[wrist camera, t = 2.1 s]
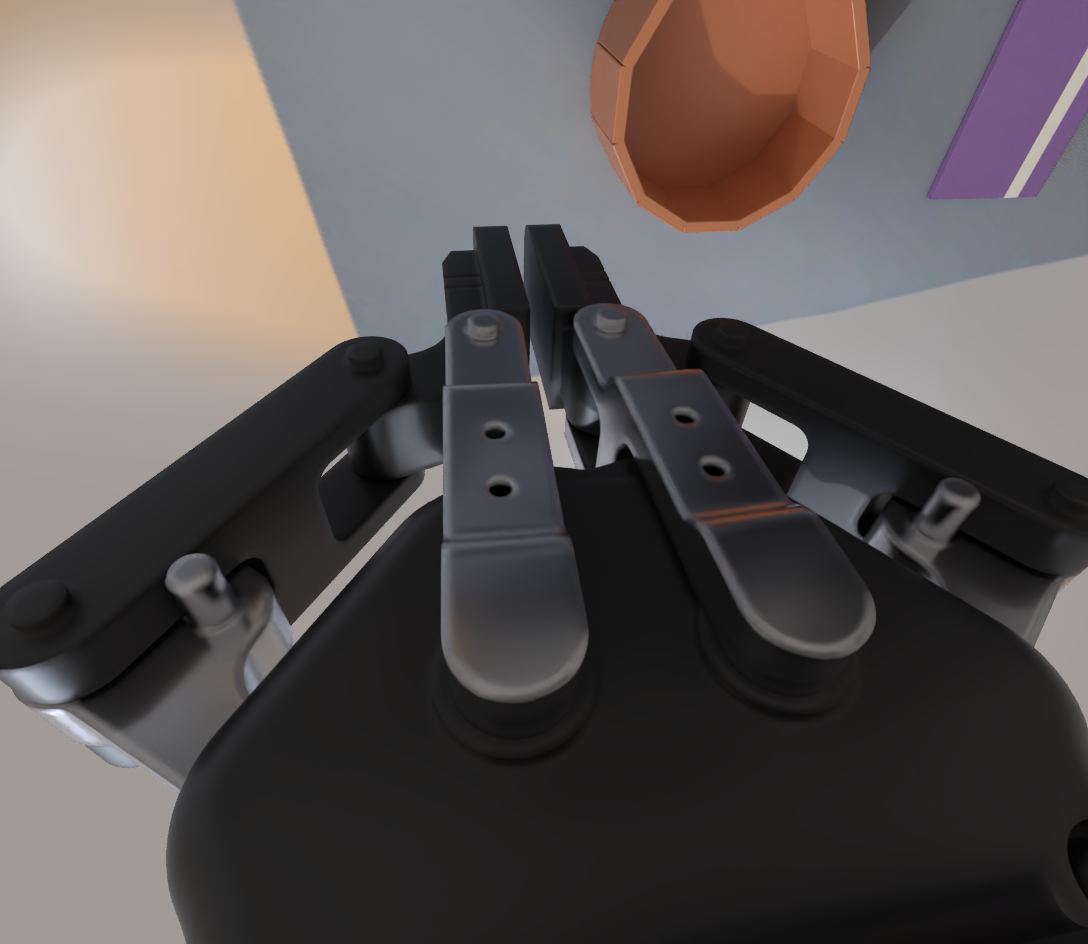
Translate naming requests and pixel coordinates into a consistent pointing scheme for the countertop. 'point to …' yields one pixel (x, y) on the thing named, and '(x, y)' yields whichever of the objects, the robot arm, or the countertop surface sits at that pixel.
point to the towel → (1022, 106)
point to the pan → (725, 102)
